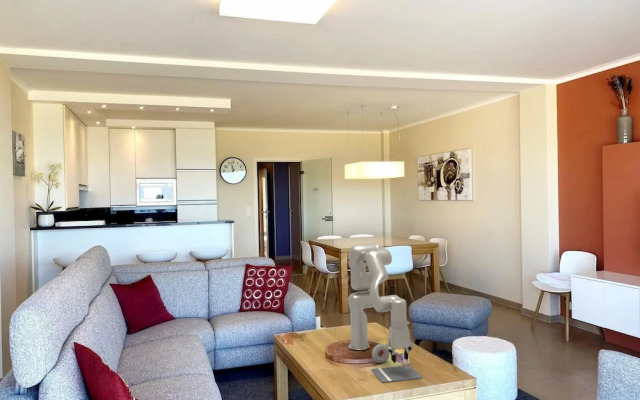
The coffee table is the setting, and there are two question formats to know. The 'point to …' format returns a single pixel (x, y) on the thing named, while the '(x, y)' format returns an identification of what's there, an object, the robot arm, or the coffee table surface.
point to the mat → (396, 374)
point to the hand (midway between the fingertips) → (399, 361)
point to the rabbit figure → (402, 360)
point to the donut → (376, 350)
